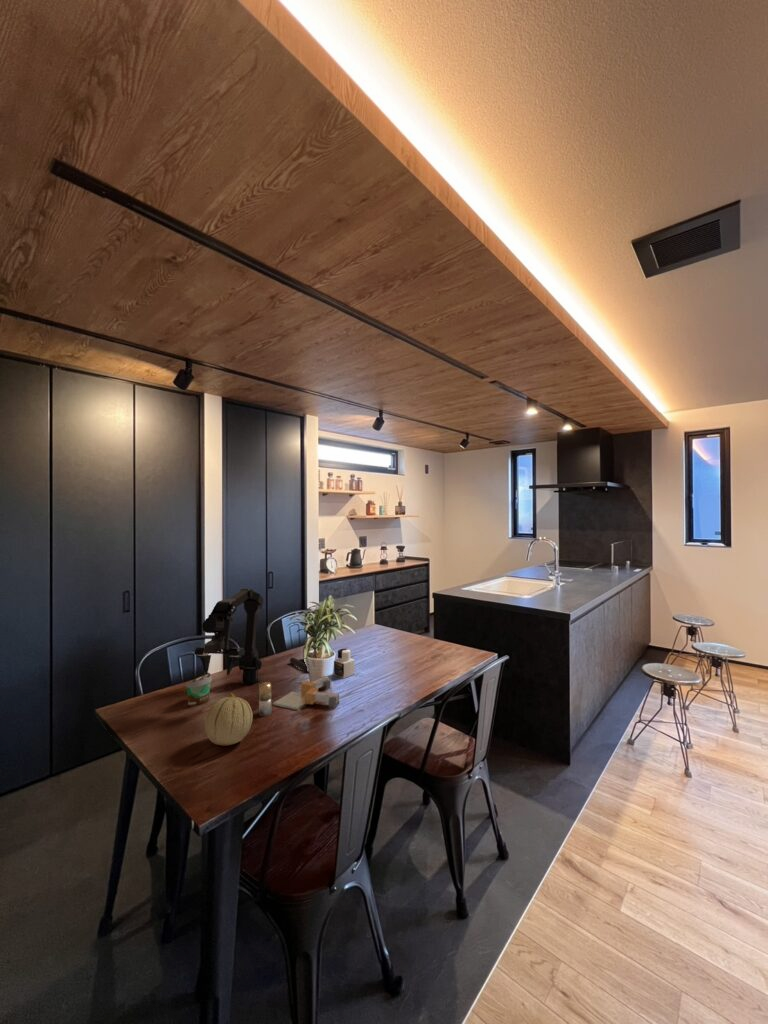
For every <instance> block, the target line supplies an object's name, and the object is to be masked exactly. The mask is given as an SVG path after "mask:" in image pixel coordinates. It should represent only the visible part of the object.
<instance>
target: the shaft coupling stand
mask: <svg viewBox="0 0 768 1024" xmlns="http://www.w3.org/2000/svg"><path fill="white" fill-rule="evenodd" d="M319 689H320V690H325V691H327V690H329V689H331V680H329V676H322V677H319V678H318V679H316V680H313V681H308V680H305V681H302V682H301V683H300V692H296V691H291V692H289V693H287V694H285V695H284V696H282V697H280V698H279V699H277V700H276V701H274V702H273V703H272V704H273V706H274V707H275V706H276V707H280V708H284V709H289V710H293V711H294V710H295V711H299V710H301V709H302V708H304V707H306V706H307V705H314V704H315V703H316V702H319V703H321V702H322V703H328V709H331V710H335V709H336V708H337V707H338V705H340V694H339V693H332V692H323V691H321V692H320V691H319Z"/></svg>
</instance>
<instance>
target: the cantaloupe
mask: <svg viewBox="0 0 768 1024" xmlns="http://www.w3.org/2000/svg"><path fill="white" fill-rule="evenodd" d="M229 695H230V696H226V697H222V698H220V699H218V700H216V702H214V703H213V705H211V707H210V708H209V709H208V711H207V713H206V716H205V720H204V731H205V734H206V736H207V739H209V741H210V742H212V744H214V745H218V746H224V747H225V746H226V747H227V746H232V745H235V744H237V743H239V742H241V741H242V740H243V739H244V738H245V737H246V736H247V735H248V733H249V731H250V729H251V727H252V723H253V717H254V715H253V710H252V707H251V706H250V704H249V702H248V701H247V700H246V699H244V698H241V697H239V696H235V695H234V693H232V692H231V693H230V694H229Z"/></svg>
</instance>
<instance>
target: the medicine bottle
mask: <svg viewBox="0 0 768 1024" xmlns="http://www.w3.org/2000/svg"><path fill="white" fill-rule="evenodd" d="M334 660H335V661H334ZM334 660H333V676H335V675H336V676H335V677H338V676H339V677H338V678H341V679H346V677H347V678H349V677H352V676H354V675H355V673H356V672H355V659H353V658H351V649H350V648H341V649H338V650H337V659H334ZM353 674H354V675H353ZM351 675H352V676H351ZM348 676H349V677H348Z"/></svg>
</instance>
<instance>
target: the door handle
mask: <svg viewBox="0 0 768 1024" xmlns="http://www.w3.org/2000/svg"><path fill="white" fill-rule="evenodd" d="M304 659H305V658H300V659H297V658H295V657H291V658H290V659H289V663H290V664H292V665H294V667H295V666H296V667H295V668H297V667H298V668H297V669H299V670H300V669H301V670H300V671H302V670H303V672H305V673H308V672H307V666H306V664H305V662H304Z"/></svg>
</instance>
